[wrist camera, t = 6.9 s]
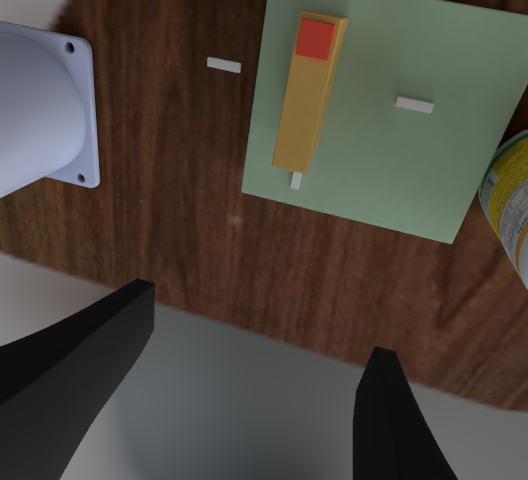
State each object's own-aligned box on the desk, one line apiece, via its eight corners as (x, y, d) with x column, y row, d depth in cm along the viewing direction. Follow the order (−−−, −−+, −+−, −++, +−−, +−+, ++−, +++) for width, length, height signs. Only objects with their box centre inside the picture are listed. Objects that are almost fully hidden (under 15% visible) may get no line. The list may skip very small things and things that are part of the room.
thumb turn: (317, 147, 17) (305, 177, 14) (288, 140, 18) (269, 168, 14) (349, 16, 15) (342, 18, 12) (314, 10, 15) (298, 9, 12)
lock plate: (216, 165, 22) (198, 183, 20) (239, -66, 17) (217, -78, 14) (443, 220, 20) (452, 246, 18) (547, -14, 15) (578, -19, 13)
